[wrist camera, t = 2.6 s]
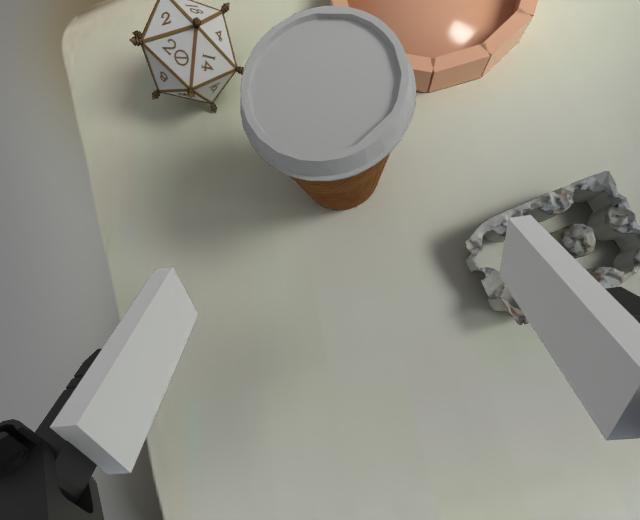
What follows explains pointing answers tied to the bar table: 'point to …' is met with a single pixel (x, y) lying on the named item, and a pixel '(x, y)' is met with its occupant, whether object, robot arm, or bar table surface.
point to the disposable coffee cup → (328, 101)
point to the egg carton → (569, 234)
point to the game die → (188, 50)
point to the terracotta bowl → (451, 34)
